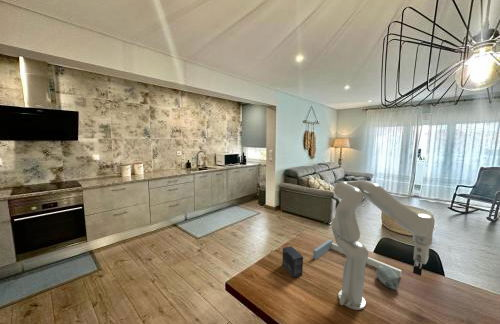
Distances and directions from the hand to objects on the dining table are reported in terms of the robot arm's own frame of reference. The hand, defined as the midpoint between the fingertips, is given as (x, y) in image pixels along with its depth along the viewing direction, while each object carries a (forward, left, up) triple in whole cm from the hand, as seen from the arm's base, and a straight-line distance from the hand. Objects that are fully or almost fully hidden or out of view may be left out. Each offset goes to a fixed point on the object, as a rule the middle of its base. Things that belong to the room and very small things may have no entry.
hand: (419, 269), depth 109 cm
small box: (-31, +56, -15) cm, 66 cm away
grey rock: (0, +13, -15) cm, 20 cm away
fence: (+1, +32, -15) cm, 35 cm away
